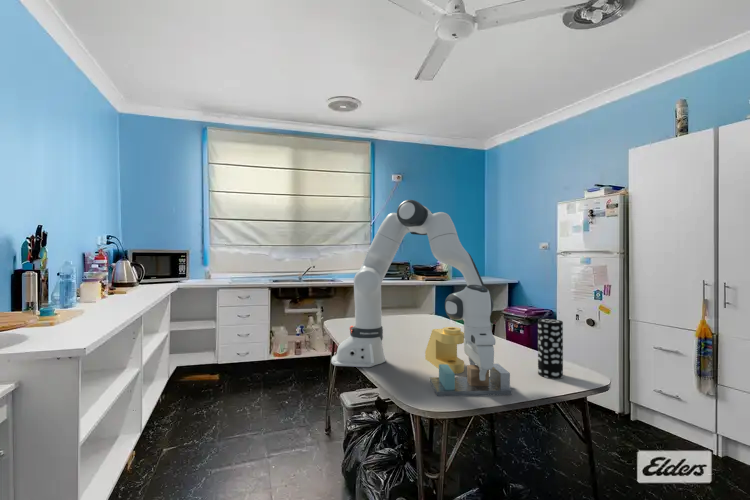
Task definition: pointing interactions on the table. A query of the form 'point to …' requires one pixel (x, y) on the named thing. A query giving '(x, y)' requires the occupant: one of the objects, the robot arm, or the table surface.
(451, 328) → the clamp
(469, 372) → the block
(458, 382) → the vise
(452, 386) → the block
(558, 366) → the white-spotted black cylinder
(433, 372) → the table surface
